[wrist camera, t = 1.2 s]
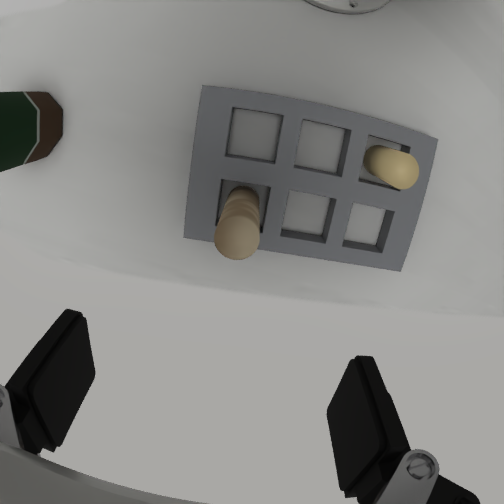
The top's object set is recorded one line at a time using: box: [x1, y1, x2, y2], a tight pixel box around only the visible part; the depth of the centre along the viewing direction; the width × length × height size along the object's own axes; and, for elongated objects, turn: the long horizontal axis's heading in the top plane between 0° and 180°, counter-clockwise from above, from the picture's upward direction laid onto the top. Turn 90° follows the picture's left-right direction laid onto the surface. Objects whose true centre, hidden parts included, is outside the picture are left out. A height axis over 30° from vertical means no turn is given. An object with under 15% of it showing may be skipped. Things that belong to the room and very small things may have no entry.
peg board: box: [184, 85, 438, 272], centre depth 27 cm, size 22×14×6 cm, turn 81°
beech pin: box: [214, 186, 260, 260], centre depth 26 cm, size 3×3×10 cm
